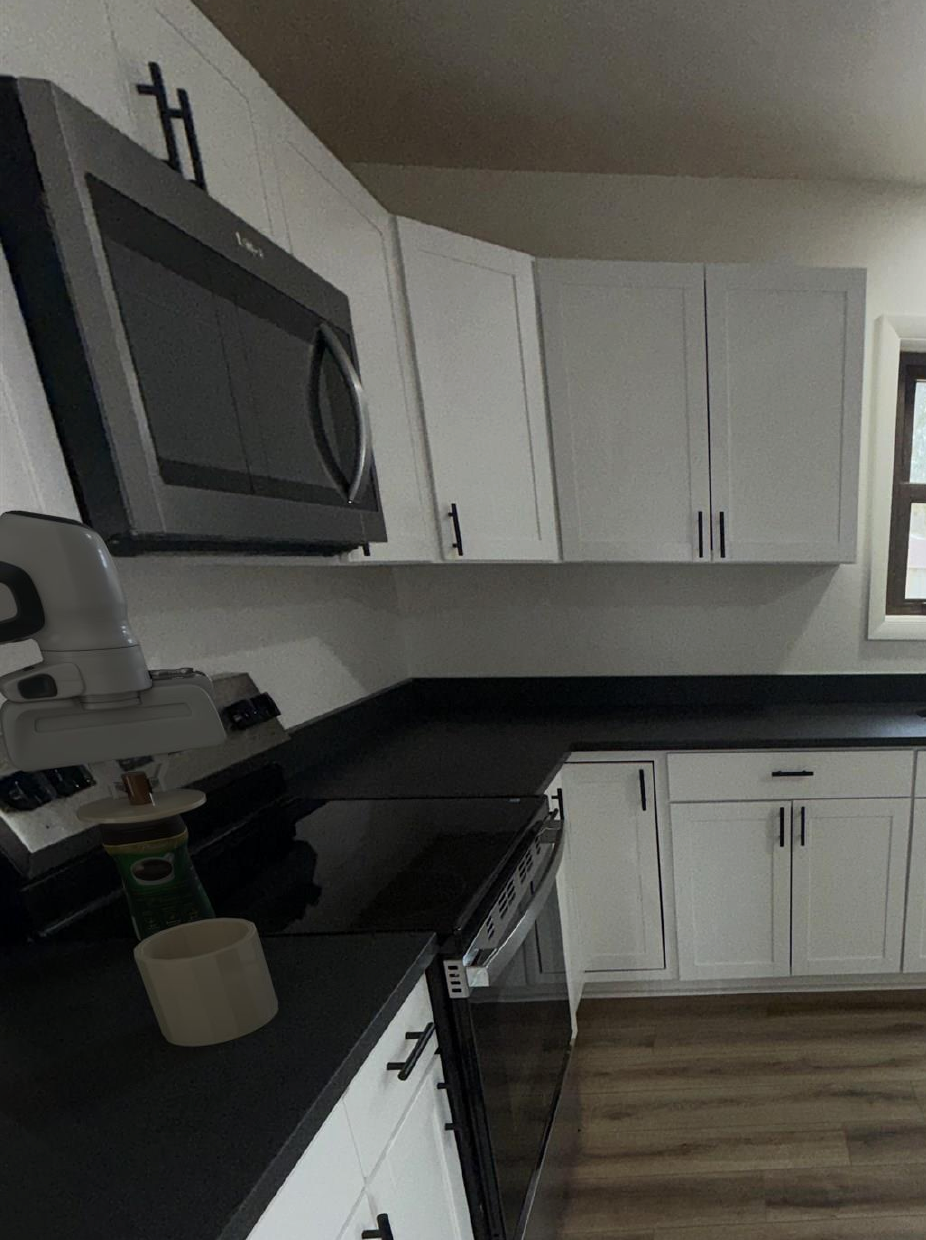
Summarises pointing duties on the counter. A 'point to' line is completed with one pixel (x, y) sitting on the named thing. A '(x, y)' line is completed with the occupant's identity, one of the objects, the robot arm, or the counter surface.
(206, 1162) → the counter surface
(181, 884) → the coffee jar
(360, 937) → the counter surface
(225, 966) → the cup
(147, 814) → the cream pot lid
